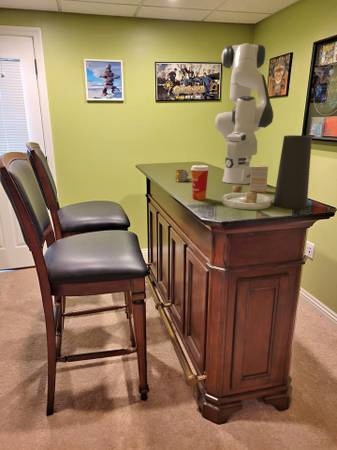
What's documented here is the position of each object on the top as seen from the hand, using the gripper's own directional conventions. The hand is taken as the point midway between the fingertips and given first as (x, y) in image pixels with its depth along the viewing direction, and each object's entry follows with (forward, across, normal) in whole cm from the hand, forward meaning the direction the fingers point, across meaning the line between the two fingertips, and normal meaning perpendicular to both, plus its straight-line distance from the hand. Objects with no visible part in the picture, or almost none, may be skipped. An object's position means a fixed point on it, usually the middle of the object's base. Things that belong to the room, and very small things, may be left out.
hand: (241, 166), depth 153 cm
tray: (+14, +7, +8) cm, 18 cm away
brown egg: (+15, -2, -3) cm, 15 cm away
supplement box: (+15, -19, -1) cm, 24 cm away
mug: (+16, -16, -47) cm, 53 cm away
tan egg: (+13, +11, +12) cm, 21 cm away
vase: (+14, -3, +23) cm, 27 cm away
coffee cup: (+15, +14, -13) cm, 24 cm away
